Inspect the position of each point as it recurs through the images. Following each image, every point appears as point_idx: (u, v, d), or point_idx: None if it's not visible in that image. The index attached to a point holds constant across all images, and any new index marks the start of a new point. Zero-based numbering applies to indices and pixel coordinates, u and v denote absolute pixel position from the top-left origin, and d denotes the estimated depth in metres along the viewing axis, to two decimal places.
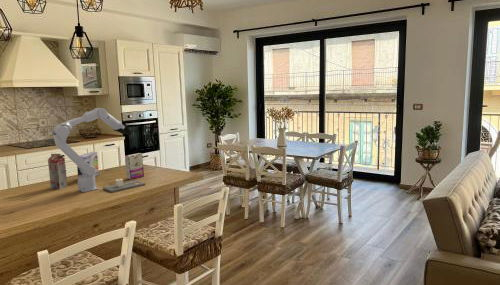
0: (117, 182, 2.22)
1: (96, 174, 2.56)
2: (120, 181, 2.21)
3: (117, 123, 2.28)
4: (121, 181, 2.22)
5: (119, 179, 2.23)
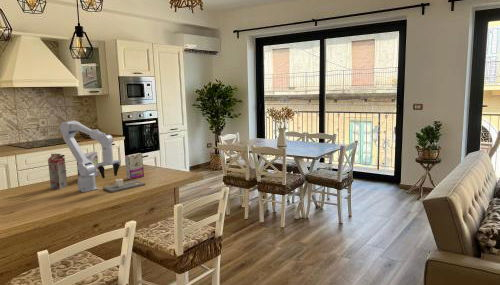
0: (117, 182, 2.22)
1: (96, 174, 2.56)
2: (120, 181, 2.21)
3: (104, 160, 2.14)
4: (121, 181, 2.22)
5: (119, 179, 2.23)
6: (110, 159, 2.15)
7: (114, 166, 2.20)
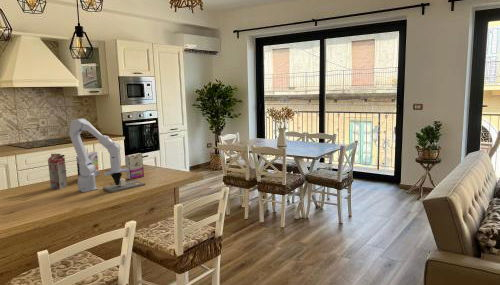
0: (119, 181, 2.23)
1: (96, 174, 2.56)
2: (122, 181, 2.22)
3: (112, 168, 2.18)
4: (123, 181, 2.23)
5: (121, 179, 2.24)
6: (118, 168, 2.18)
7: None
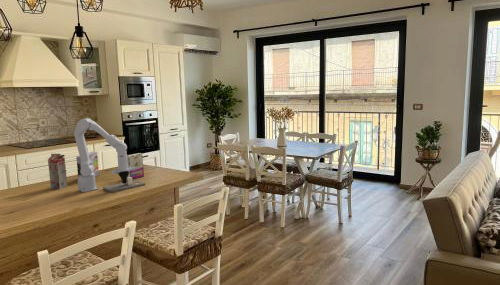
0: (126, 180, 2.26)
1: (96, 174, 2.56)
2: (129, 179, 2.25)
3: (119, 167, 2.21)
4: (130, 179, 2.26)
5: (128, 177, 2.27)
6: (125, 166, 2.22)
7: None
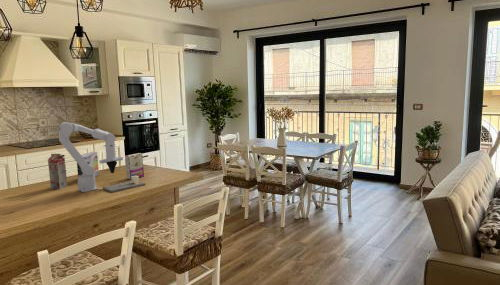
0: (133, 178, 2.29)
1: (96, 174, 2.56)
2: (136, 178, 2.29)
3: (107, 157, 2.24)
4: (137, 178, 2.29)
5: (135, 176, 2.30)
6: (113, 156, 2.25)
7: None
